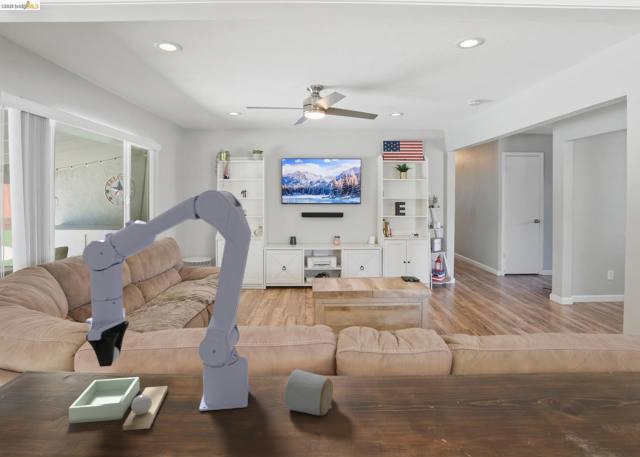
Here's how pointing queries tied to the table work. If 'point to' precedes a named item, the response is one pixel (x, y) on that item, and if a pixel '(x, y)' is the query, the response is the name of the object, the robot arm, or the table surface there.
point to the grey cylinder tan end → (308, 393)
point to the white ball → (115, 354)
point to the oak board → (147, 418)
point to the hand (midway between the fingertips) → (110, 361)
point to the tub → (104, 400)
